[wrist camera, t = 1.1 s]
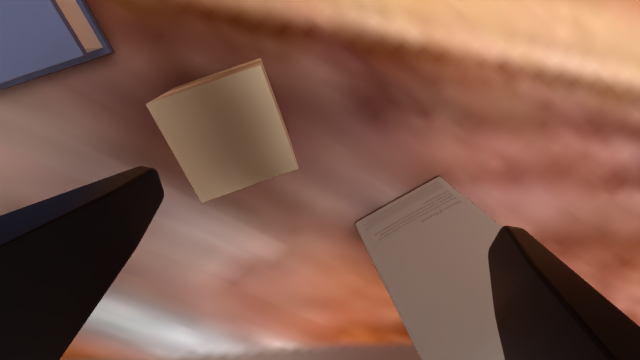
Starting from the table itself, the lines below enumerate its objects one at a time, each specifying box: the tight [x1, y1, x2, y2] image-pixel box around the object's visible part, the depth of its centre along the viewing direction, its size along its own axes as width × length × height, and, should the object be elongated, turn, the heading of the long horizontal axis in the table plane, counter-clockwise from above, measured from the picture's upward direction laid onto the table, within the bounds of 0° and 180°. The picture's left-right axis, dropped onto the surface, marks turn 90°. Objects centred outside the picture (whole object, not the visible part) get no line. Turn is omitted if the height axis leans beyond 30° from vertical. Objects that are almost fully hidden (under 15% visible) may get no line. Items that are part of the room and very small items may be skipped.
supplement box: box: [355, 177, 505, 360], centre depth 19 cm, size 7×7×13 cm
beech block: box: [146, 58, 299, 203], centre depth 16 cm, size 5×5×5 cm
